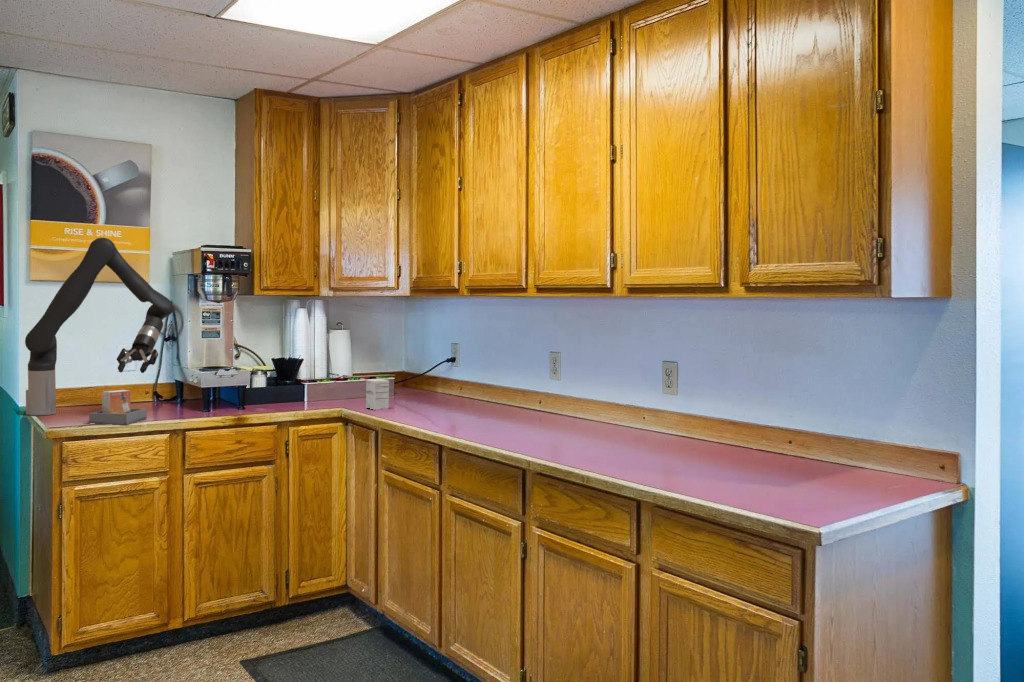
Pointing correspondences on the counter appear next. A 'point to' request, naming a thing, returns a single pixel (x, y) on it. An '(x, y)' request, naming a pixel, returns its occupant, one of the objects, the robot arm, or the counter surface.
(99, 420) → the grey tray
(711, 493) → the counter surface
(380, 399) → the supplement box
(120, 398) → the small box
